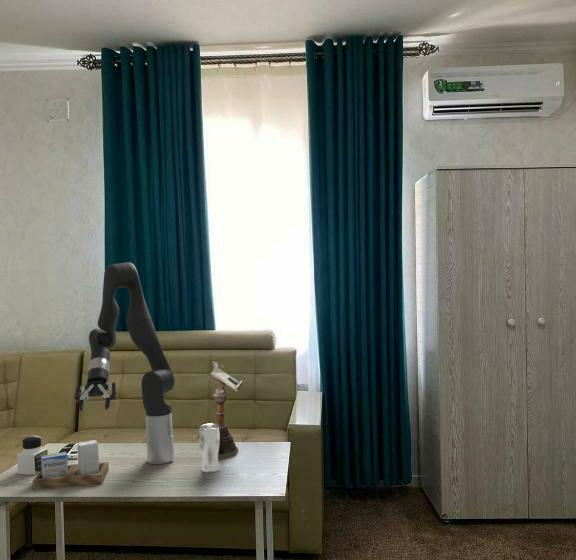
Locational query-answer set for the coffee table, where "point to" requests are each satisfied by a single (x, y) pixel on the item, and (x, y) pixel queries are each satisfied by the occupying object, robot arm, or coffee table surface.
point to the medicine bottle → (31, 456)
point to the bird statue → (226, 440)
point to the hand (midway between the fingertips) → (94, 409)
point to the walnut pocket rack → (71, 478)
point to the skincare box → (88, 457)
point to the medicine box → (54, 465)
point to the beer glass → (209, 447)
